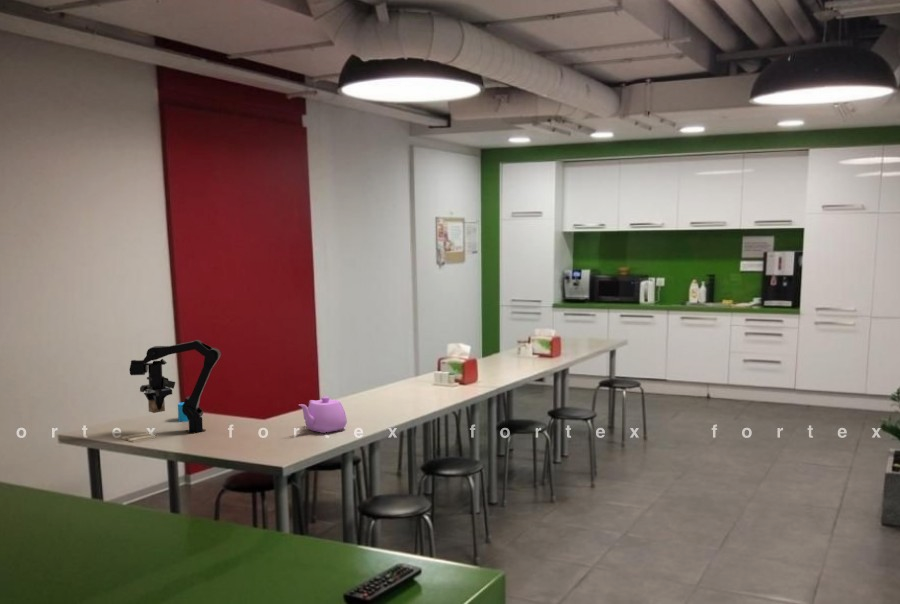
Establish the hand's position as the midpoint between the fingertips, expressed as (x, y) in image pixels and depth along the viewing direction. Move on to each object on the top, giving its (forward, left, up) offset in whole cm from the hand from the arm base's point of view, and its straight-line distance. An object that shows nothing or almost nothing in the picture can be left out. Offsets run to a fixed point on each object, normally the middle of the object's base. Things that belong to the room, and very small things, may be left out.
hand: (156, 408), depth 322 cm
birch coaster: (-2, +10, -11) cm, 15 cm away
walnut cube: (0, 0, -1) cm, 1 cm away
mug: (+15, -24, -11) cm, 31 cm away
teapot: (-57, -49, -11) cm, 76 cm away
